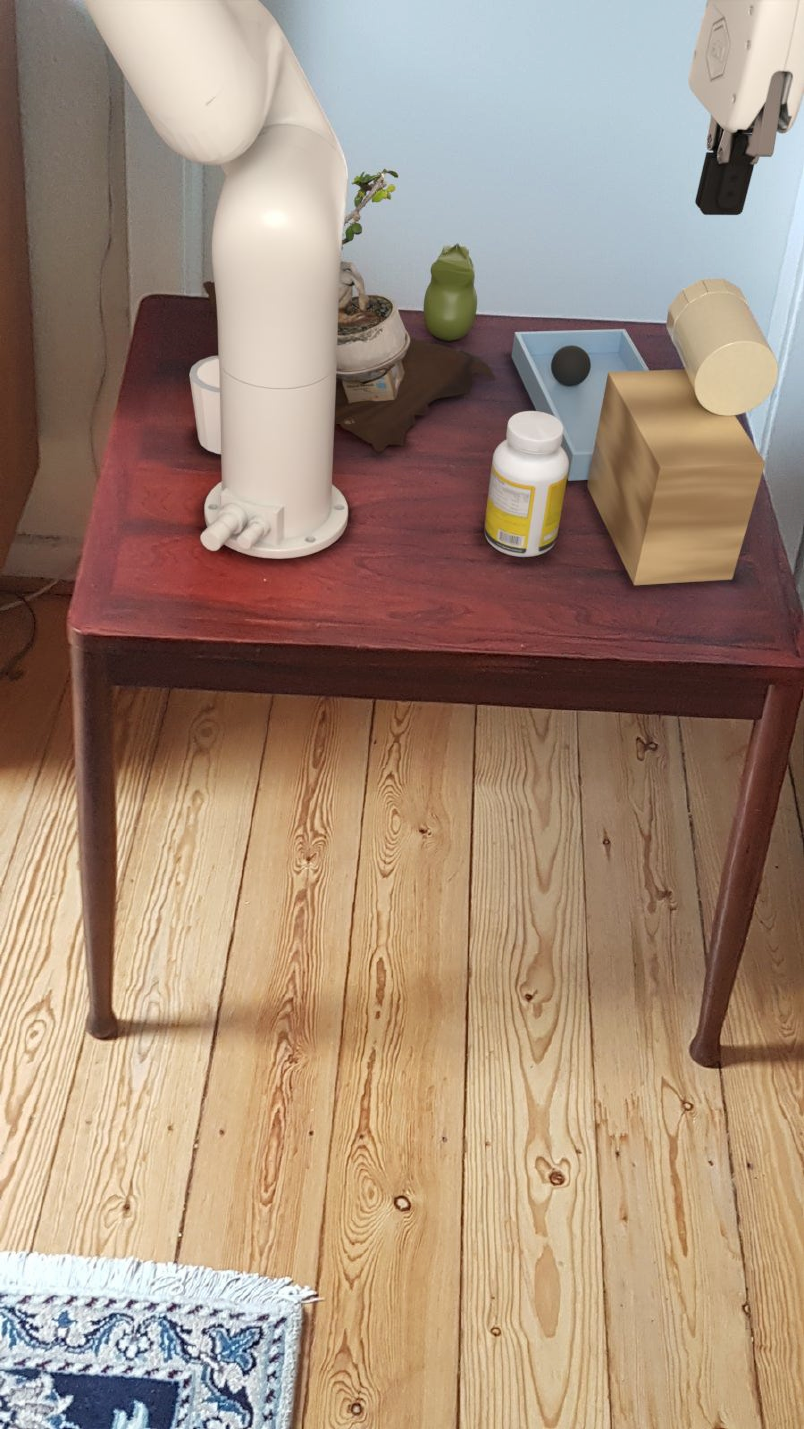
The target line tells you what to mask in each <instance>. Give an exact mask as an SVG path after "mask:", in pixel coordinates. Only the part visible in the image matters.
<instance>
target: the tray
mask: <svg viewBox="0 0 804 1429" xmlns="http://www.w3.org/2000/svg"><path fill="white" fill-rule="evenodd" d="M513 336H514V337H513V343H512V350H511V357H510V358H511V359H512V361H513V364H514V366H515V368H516V370H517V372H518V374H519V377H520V380H521V381H522V383H523V385H524V387H525V390H526V392H527V394H528V396H529V398H530V400H531V403H532V405H533V407H534V409H535V411H539V412H544V413H547V414H550V415H552V416H554V417H556V418H557V419H558V420H559V421H560V422H561V423H562V425H563V428H564V431H563V439H562V443H561V447H562V448H563V449H564V451H565V452H566V454H567V457H568V460H569V468H568V475H567V481H568V482H572V481H575V482H576V481H588V478H589V472H590V467H591V462H592V456H593V451H594V446H595V440H596V435H597V429H598V424H599V419H600V413H601V408H602V403H603V397H604V392H605V387H606V381H607V376H608V372H623V371H650V369H649V367H648V365H647V364H646V363H645V362H646V361H645V360H644V359H643V357H642V355H641V354H640V352H639V350H638V349H637V347H636V345H635V343H634V342H633V340H632V338H631V337H630V335H629V333H628V332H627V330H626V328H614V329H609V328H608V329H577V330H543V331H542V330H541V331H540V330H537V331H515V332H514V335H513ZM569 345H574V346H578V347H580V348H582V349H583V350H584V351H585V352H586V353H587V354H588V356H589V358H590V362H591V368H590V372H589V375H588V376H587V378H586V379H585V380H584V381H583V382H582V383H580V384H578V385H575V386H566V385H563V384H561V383H559V382H558V381H557V380H556V379H555V378H554V376H553V374H552V371H551V362H552V359H553V356H554V355H555V353H556V352H557V351H558V350H559V349H561V348H562V347H565V346H569Z"/></svg>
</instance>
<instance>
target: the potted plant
mask: <svg viewBox="0 0 804 1429" xmlns="http://www.w3.org/2000/svg"><path fill="white" fill-rule="evenodd" d="M365 173H366V171H363V172H362V173H360V175H356V176H355V177H354V179H353V182H351V185H356V186H358V187H359V190H358V191H357V194H356V196H354V199H353V201H354V202H353V203H354V207H355V209H354V210H351V212H350V213H349V214H348V215H345V221H344V227H346V224H348V223H349V226H348V227H347V228H346V229H345V231H344V232H345V238H343V239H342V250H344V245H346V244H348V243H349V242H352V241H353V240H354V237H355V235H357V236H359V235H361V234H362V233H363V226H362V225H361V223H359V221H360V220H361V218H362V217H361V215H360V212H361V211H362V209H363V208H364V207H366V205H367V204H368V203H369V202H370V200H371V202H372V203H380V202H382V201H383V200H386V199H387V200H389V201H390V200H392V194H391V193H393V192H395V190H396V186H395V185H394V184H392V183H390V184H389V185H387V182H388V181H385V177H386V174H389V175H390V176H392V177H394V178H396V179H398V178H399V174H398V173H397V171H394V170H387V169H386V168H383V170H382V171H377V172H376V174H373V175H371V174H369V173H366V174H365ZM371 182H372V183H371ZM384 188H386V189H384ZM367 192H368V194H367ZM352 220H353V221H352ZM349 221H352V222H349ZM364 281H365V280H364V278H363V277H362V274H361V273H360V272H359V271H358V269H357V268H356V265H355V263H353V262H351V261H343V259H342V258H341V265H340V277H339V302H338V333H337V370H336V394H335V419H334V426H337V425H339V426H340V427H341V428H342V429H344V430H346V431H350V432H351V433H352V434H354V435H355V436H357V437H359V438H360V439H362V440H363V441H364V442H366V443H367V444H371V445H372V447H373V448H374V451H375V452H382V451H384V450H385V448H386V447H388V446H389V445H396V446H401V447H404V446H405V436H406V434H405V433H407V431H409V430H410V428H412V427H413V425H415V423H416V419H415V418H416V417H415V416H425V415H427V414H428V413H429V412H430V409H429V407H428V406H429V404H430V403H431V402H433V401H434V400H437V399H440V398H447V397H455V396H459V395H463V394H468V393H470V390H471V387H472V383H473V379H474V374H475V372H476V373H478V374H480V375H483V376H485V377H488V378H490V379H492V380H495V379H496V377H495V375H494V373H493V371H492V369H491V368H490V366H489V365H488V364H487V363H486V362H485V361H484V360H482V358H480V357H479V356H477V355H474V354H471V353H470V352H467V351H465V350H457V349H454V348H450V347H448V346H444V345H441V344H437V343H433V342H427V341H425V340H424V341H423V340H420V339H415V338H414V337H413V338H412V337H410V335H409V332H408V330H406V327H405V325H404V322H403V320H402V318H401V315H400V312H399V309H398V305H397V304H396V301H395V300H393V299H392V298H390V297H388V296H386V295H381V294H372V293H369V294H366V291H365V282H364ZM202 285H203V286H202V287H203V288H204V291H205V292H206V294H207V295H208V300H209V302H210V304H211V307H212V309H213V313H214V316H215V318H216V319H217V303H216V292H215V283H214V281H213V282H212V281H211V280H209V281H205V282H203V283H202ZM354 287H355V289H356V291H357V292H358V295H354V296H353V293H354V292H353V291H354V290H353V288H354Z"/></svg>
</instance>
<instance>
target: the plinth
mask: <svg viewBox="0 0 804 1429" xmlns="http://www.w3.org/2000/svg"><path fill="white" fill-rule="evenodd" d="M765 466H766V462H765V460H764V459H763V457H762V455H761V453H760V452H759V451H758V449H757V448H756V446H755V444H754V443H753V441H752V440H751V438H750V437H749V435H748V434H747V432H746V430H745V429H744V428H743V426H742V424H741V422H740V421H739V419H738V418H737V415H733V416H723V415H718V414H715V413H712V412H710V411H708V410H707V409H705V408H704V407H703V406H702V405H701V404H700V402H699V401H698V399H697V397H696V395H695V392H694V390H693V388H692V385H691V383H690V381H689V378H688V376H687V374H686V371H685V369H660V370H659V369H656V370H649V371H623V372H608V376H607V381H606V387H605V392H604V397H603V403H602V408H601V413H600V419H599V424H598V429H597V435H596V440H595V446H594V451H593V456H592V462H591V467H590V472H589V478H588V480H587V483H586V487H587V489H588V492H589V494H590V496H591V498H592V500H593V503H594V505H595V507H596V509H597V510H598V514H599V515H600V518H601V519H602V521H603V523H604V525H605V528H606V530H607V532H608V534H609V536H610V538H611V540H612V543H613V545H614V546H615V549H616V550H617V553H618V556H619V557H620V559H621V562H622V564H623V566H624V568H625V570H626V572H627V575H628V576H629V578H630V580H631V582H632V585H633V586H647V585H648V586H649V585H664V584H679V583H681V584H682V583H695V582H696V583H698V582H715V581H716V582H717V581H729V580H730V581H731V580H733V578H734V575H735V572H736V568H737V564H738V560H739V557H740V554H741V550H742V547H743V543H744V540H745V535H746V532H747V528H748V526H749V521H750V518H751V514H752V512H753V507H754V504H755V501H756V497H757V494H758V490H759V487H760V482H761V480H762V476H763V473H764V469H765Z"/></svg>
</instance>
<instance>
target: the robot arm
mask: <svg viewBox="0 0 804 1429" xmlns="http://www.w3.org/2000/svg"><path fill="white" fill-rule="evenodd" d="M81 2H82V3H83V5H84V6H85V9H86V10H87V12H88V14H89V16H90V17H91V19H92V21H93V23H94V24H95V26H96V29H97V31H98V32H99V35H100V37H101V38H102V40H103V41H104V43H105V45H106V47H107V48H108V50H109V52H110V53H111V55H112V56H113V57H112V58H114V60H115V62H116V64H117V65H118V67H119V69H120V70H121V72H122V74H123V76H124V77H125V79H126V80H127V83H128V84H129V86H130V87H131V89H132V91H133V93H134V94H135V97H136V98H137V100H138V102H139V103H140V105H141V107H142V109H143V110H144V112H145V114H146V116H147V117H148V119H149V122H150V123H151V125H152V126H153V128H154V130H155V131H156V132H157V134H158V135H159V136H160V138H161V139H162V140H163V142H165V144H166V145H167V146H168V147H169V148H170V149H171V150H172V151H174V153H176V154H177V155H179V156H180V157H182V158H184V159H185V160H188V161H190V162H191V163H194V164H198V165H203V166H220V168H221V170H222V171H223V173H224V174H225V176H226V177H225V179H224V181H223V185H222V188H221V192H220V195H219V199H218V202H217V206H216V210H215V214H214V219H213V220H214V221H213V226H212V233H211V234H212V235H211V236H212V237H211V263H212V272H213V282H214V283H215V292H216V303H217V318H216V322H217V351H218V352H217V353H218V355H217V356H218V359H219V376H220V423H221V454H220V460H221V461H220V463H221V464H220V465H221V469H220V470H221V481H220V482H218V483H217V484H216V485H215V486H214V487H212V489H211V490H210V491H209V493H208V494H207V496H206V498H205V501H204V506H203V507H204V508H203V510H204V511H203V512H204V514H203V516H204V522H205V526H206V528H205V529H204V530H203V531H202V533H201V534H200V535H199V536H200V542H201V544H202V546H203V547H205V549H206V550H209V551H211V552H217V551H218V550H220V548H222V547H223V546H226V547H227V548H230V549H231V550H234V551H236V552H238V553H241V554H244V555H247V556H251V557H257V558H261V559H275V560H283V559H284V560H285V559H295V558H301V557H306V556H309V555H312V554H315V553H318V552H320V551H322V550H325V549H326V548H328V547H330V546H331V545H333V544H334V543H335V542H336V541H338V540H339V538H340V537H341V536H343V534H344V532H345V530H346V528H347V526H348V520H349V506H348V502H347V500H346V497H345V496H344V494H343V493H342V492H341V490H339V488H338V487H336V485H334V484H333V465H334V464H333V463H334V443H335V442H334V441H335V424H334V419H335V394H336V370H337V333H338V302H339V277H340V265H341V259H342V251H343V249H342V247H343V245H342V240H344V229H345V228H344V227H345V226H344V221H345V217H346V210H347V209H346V208H347V202H348V201H347V200H348V192H349V171H348V165H347V161H346V157H345V154H344V151H343V149H342V146H341V144H340V141H339V139H338V137H337V135H336V133H335V131H334V129H333V127H332V124H331V122H330V121H329V119H328V117H327V115H326V114H325V111H324V109H323V107H322V105H321V103H320V102H319V99H318V98H317V96H316V93H315V92H314V90H313V87H312V86H311V84H310V82H309V80H308V78H307V76H306V74H305V72H304V70H303V68H302V66H301V64H300V61H299V60H298V58H297V56H296V55H295V53H294V50H293V48H292V47H291V45H290V43H289V41H288V39H287V37H286V35H285V33H284V31H283V30H282V28H281V26H280V25H279V22H278V21H277V20H276V18H275V17H274V16H273V15H272V13H271V12H270V11H269V10H268V8H266V6H264V4H263V3H262V2H261V1H260V0H81ZM687 77H688V78H687V79H688V80H687V81H688V86H689V88H690V90H691V92H692V94H693V95H694V96H695V98H696V99H697V100H698V101H699V103H700V104H701V105H702V106H703V107H704V109H706V111H707V112H708V113H709V114H710V119H709V124H708V131H707V137H706V150H707V152H705V156H704V160H703V165H702V169H701V173H700V174H701V175H700V178H699V183H698V186H697V192H696V196H695V200H694V202H695V205H696V206H697V208H698V209H699V210H700V212H701V213H702V214H703V215H705V216H739V215H741V214H742V213H743V211H744V208H745V203H746V200H747V196H748V191H749V188H750V183H751V180H752V177H753V171H754V167H755V165H757V164H758V163H759V160H760V158H771V157H772V156H773V154H774V152H775V146H776V139H777V133H779V134H786V133H787V132H789V131H790V130H791V129H792V127H793V126H794V124H795V122H796V120H797V117H798V114H799V112H800V108H801V105H802V101H803V98H804V0H706V4H705V8H704V11H703V15H702V19H701V23H700V27H699V30H698V34H697V39H696V42H695V46H694V51H693V54H692V58H691V62H690V66H689V71H688V76H687ZM708 151H709V152H708Z"/></svg>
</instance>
